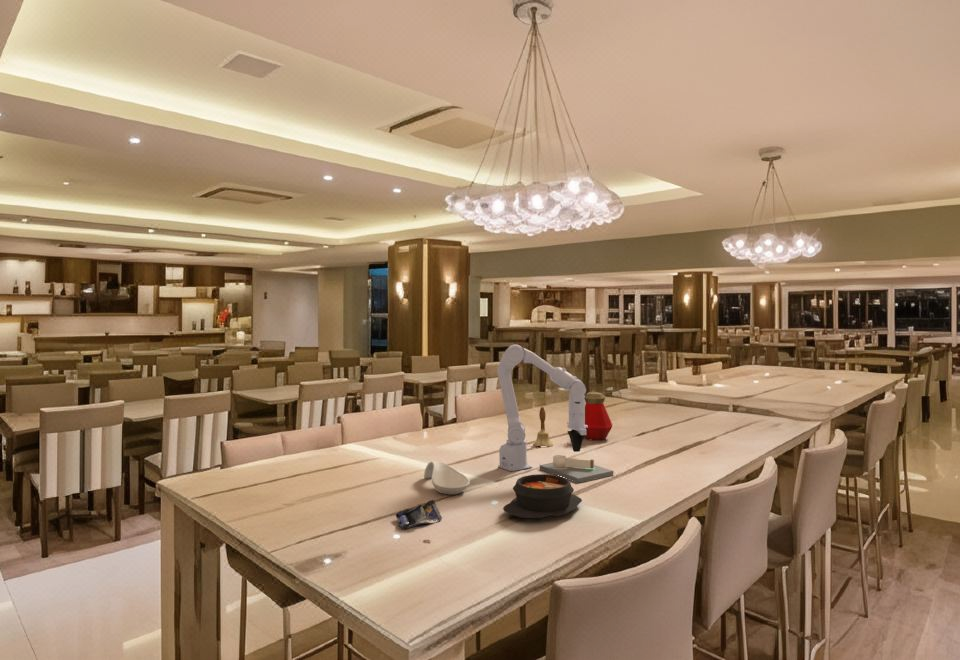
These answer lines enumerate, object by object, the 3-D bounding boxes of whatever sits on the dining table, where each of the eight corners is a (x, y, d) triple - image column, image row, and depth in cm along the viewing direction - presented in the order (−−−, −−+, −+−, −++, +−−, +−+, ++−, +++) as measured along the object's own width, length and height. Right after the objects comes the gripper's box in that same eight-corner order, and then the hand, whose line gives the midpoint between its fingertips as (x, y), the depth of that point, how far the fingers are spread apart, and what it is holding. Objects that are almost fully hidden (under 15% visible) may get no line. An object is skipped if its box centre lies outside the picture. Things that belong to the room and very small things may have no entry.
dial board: (578, 482, 188) (578, 478, 188) (539, 469, 205) (539, 464, 205) (613, 475, 197) (613, 470, 197) (573, 462, 213) (573, 458, 213)
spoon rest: (476, 494, 178) (476, 471, 177) (441, 500, 172) (440, 477, 172) (445, 476, 199) (444, 455, 198) (412, 480, 193) (412, 459, 193)
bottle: (617, 437, 256) (617, 392, 256) (606, 443, 245) (606, 396, 244) (584, 433, 265) (583, 390, 264) (572, 439, 253) (572, 393, 253)
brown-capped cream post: (552, 466, 200) (552, 457, 200) (554, 463, 205) (554, 454, 205) (592, 469, 196) (592, 460, 196) (594, 466, 201) (594, 457, 200)
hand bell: (546, 448, 237) (546, 409, 236) (529, 445, 242) (529, 407, 242) (556, 444, 244) (556, 406, 243) (539, 441, 249) (539, 405, 248)
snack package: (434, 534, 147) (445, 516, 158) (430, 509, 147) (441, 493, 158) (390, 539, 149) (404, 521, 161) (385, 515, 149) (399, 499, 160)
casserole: (548, 493, 177) (547, 466, 177) (597, 508, 164) (597, 479, 163) (488, 513, 161) (487, 483, 161) (537, 531, 147) (537, 498, 147)
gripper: (594, 416, 200) (594, 455, 200) (580, 409, 214) (580, 446, 214) (575, 417, 199) (575, 456, 199) (562, 410, 213) (561, 446, 213)
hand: (576, 451), depth 207 cm, fingers closed
